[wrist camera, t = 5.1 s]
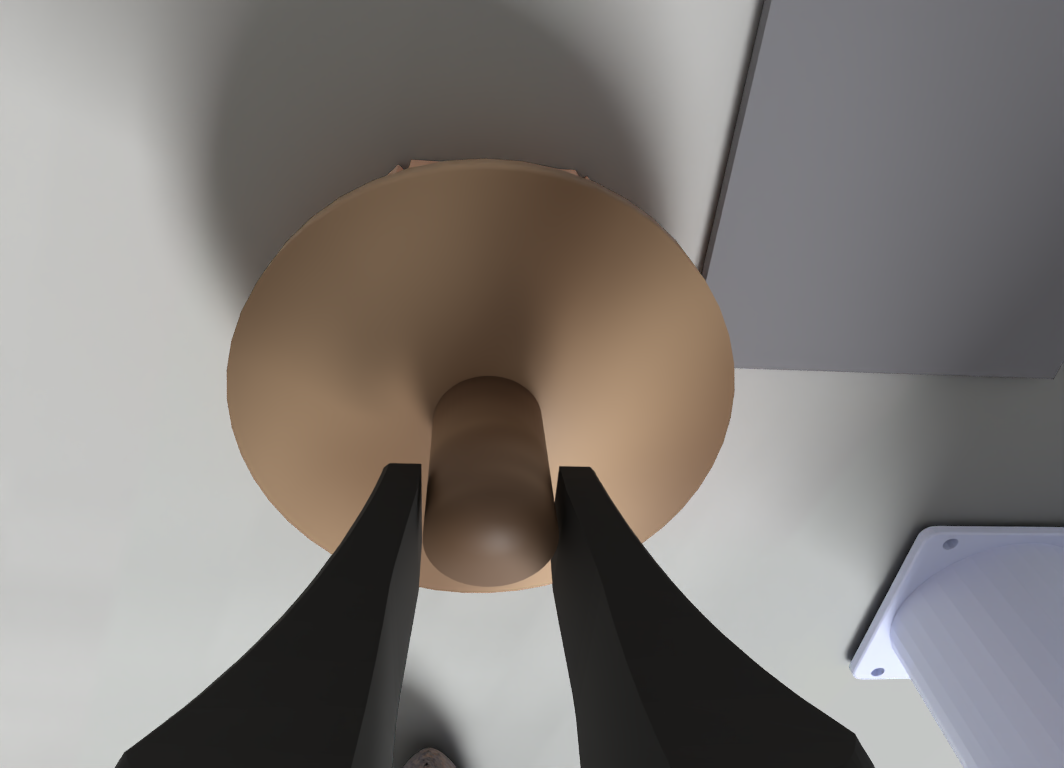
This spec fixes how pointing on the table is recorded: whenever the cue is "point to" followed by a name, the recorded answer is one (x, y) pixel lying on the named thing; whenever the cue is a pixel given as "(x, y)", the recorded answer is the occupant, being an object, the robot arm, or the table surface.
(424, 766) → the perforated stone tool
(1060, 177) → the mat
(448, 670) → the table surface
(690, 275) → the lid
